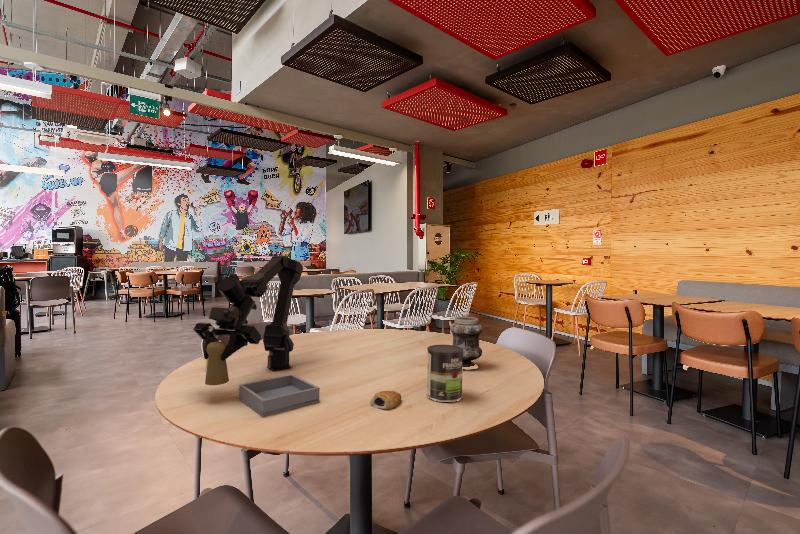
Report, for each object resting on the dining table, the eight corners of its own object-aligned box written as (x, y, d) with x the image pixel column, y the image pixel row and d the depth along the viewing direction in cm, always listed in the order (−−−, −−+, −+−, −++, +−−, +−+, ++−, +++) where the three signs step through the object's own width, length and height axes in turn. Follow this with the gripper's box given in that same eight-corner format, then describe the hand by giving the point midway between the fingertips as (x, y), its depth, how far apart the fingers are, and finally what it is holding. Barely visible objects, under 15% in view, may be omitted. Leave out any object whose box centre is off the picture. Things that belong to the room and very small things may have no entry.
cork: (219, 386, 108) (219, 345, 108) (199, 384, 109) (199, 344, 109) (233, 379, 114) (233, 340, 114) (214, 377, 115) (214, 339, 115)
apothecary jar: (486, 365, 150) (487, 317, 150) (474, 373, 140) (475, 321, 139) (456, 360, 157) (457, 314, 156) (443, 367, 147) (443, 318, 146)
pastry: (387, 396, 117) (387, 383, 117) (407, 401, 114) (407, 388, 113) (368, 407, 109) (368, 393, 109) (389, 412, 106) (389, 398, 105)
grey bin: (292, 387, 123) (292, 374, 123) (319, 402, 112) (319, 387, 111) (239, 399, 113) (239, 384, 113) (262, 417, 101) (262, 401, 101)
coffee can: (469, 399, 115) (470, 350, 115) (439, 405, 110) (439, 354, 110) (449, 388, 124) (449, 342, 124) (419, 393, 119) (420, 346, 119)
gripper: (197, 294, 117) (167, 341, 106) (255, 297, 112) (229, 345, 102) (216, 317, 125) (190, 362, 114) (270, 320, 120) (248, 367, 110)
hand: (213, 359), depth 110 cm, fingers closed on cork, 5 cm apart
